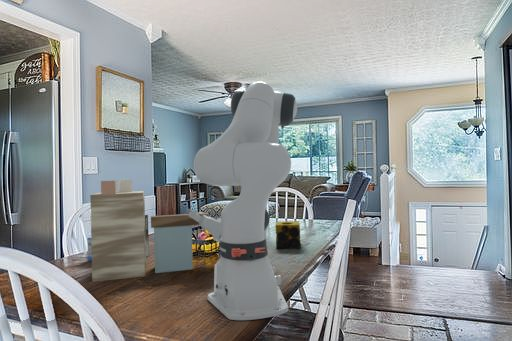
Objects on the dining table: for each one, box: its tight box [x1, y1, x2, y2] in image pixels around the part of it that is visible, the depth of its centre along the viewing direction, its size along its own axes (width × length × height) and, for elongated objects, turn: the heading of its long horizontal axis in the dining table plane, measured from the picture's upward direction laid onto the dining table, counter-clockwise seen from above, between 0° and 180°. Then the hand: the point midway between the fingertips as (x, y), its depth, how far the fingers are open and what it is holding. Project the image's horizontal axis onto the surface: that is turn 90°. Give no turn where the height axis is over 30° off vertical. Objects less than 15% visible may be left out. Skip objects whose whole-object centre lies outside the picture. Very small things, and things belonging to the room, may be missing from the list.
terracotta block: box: [100, 180, 118, 194], centre depth 107 cm, size 4×4×4 cm
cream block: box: [117, 179, 133, 192], centre depth 116 cm, size 4×4×4 cm
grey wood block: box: [89, 190, 147, 283], centre depth 112 cm, size 13×15×26 cm
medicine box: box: [87, 236, 92, 262], centre depth 130 cm, size 8×4×9 cm, turn 62°
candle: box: [275, 220, 301, 250], centre depth 146 cm, size 10×10×10 cm
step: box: [153, 225, 194, 274], centre depth 116 cm, size 8×12×14 cm, turn 106°
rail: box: [150, 212, 210, 229], centre depth 117 cm, size 3×19×4 cm, turn 106°
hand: (188, 212), depth 118 cm, fingers open, 8 cm apart
